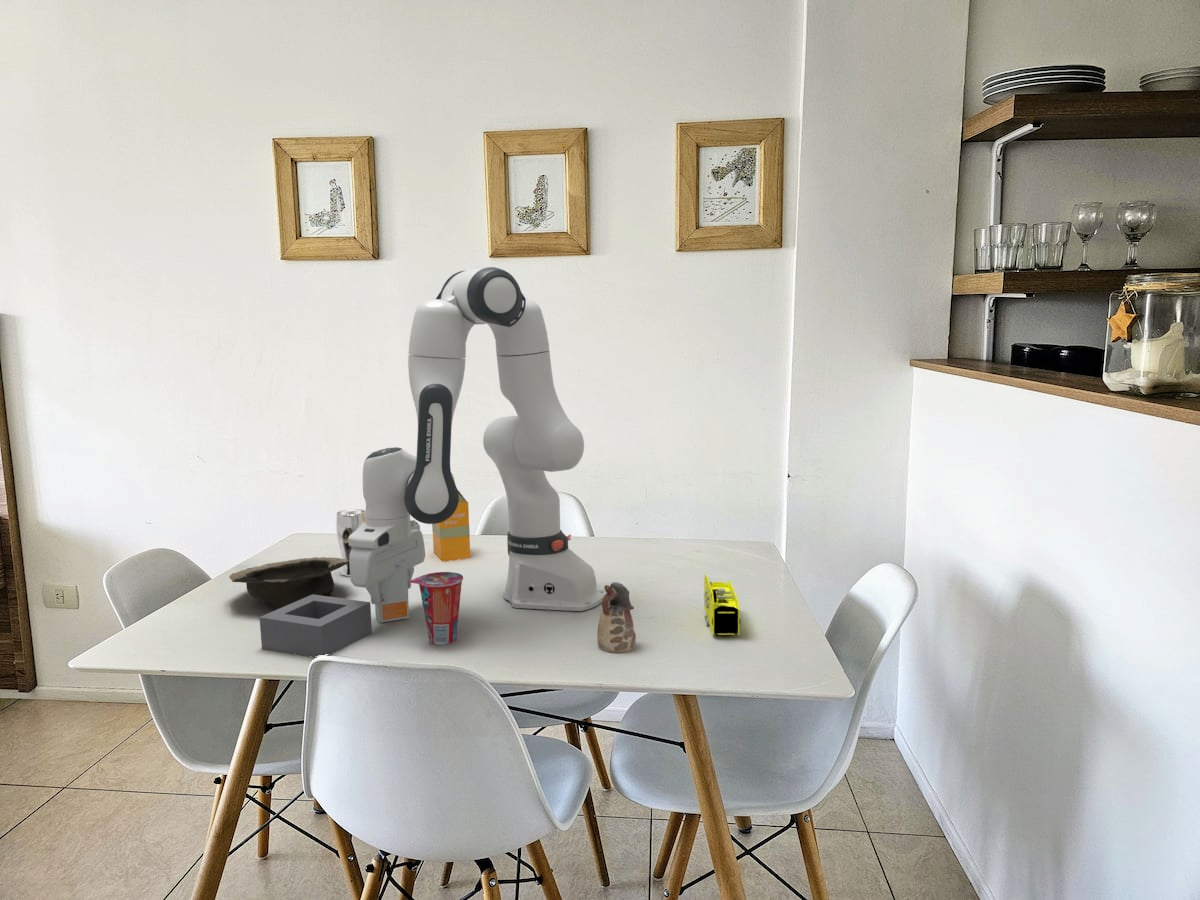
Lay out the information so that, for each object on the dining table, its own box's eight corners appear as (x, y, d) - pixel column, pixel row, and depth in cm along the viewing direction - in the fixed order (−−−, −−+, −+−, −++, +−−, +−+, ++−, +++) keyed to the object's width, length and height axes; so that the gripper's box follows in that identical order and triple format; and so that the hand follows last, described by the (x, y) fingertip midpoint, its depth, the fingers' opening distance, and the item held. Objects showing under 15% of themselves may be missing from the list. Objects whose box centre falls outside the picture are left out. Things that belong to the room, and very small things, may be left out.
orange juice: (462, 549, 219) (459, 475, 217) (470, 558, 211) (468, 481, 209) (432, 553, 216) (429, 478, 213) (440, 562, 208) (437, 483, 205)
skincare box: (380, 623, 165) (376, 565, 163) (375, 617, 169) (372, 560, 167) (410, 618, 168) (407, 561, 166) (405, 612, 172) (402, 556, 170)
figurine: (644, 647, 151) (643, 583, 149) (611, 656, 147) (610, 591, 145) (621, 635, 157) (621, 574, 155) (590, 643, 153) (588, 581, 151)
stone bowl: (307, 621, 167) (300, 576, 165) (206, 619, 174) (199, 576, 173) (374, 582, 190) (369, 543, 189) (283, 582, 198) (277, 545, 196)
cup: (450, 628, 162) (447, 568, 160) (474, 639, 156) (471, 578, 154) (407, 640, 156) (404, 578, 154) (430, 653, 150) (427, 589, 148)
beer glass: (364, 577, 196) (360, 515, 194) (335, 577, 197) (331, 515, 194) (373, 568, 203) (369, 508, 201) (344, 568, 204) (341, 509, 201)
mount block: (371, 632, 161) (370, 602, 160) (322, 658, 148) (320, 626, 147) (314, 623, 166) (312, 594, 165) (261, 648, 153) (259, 617, 152)
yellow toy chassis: (701, 610, 171) (702, 571, 169) (729, 610, 170) (730, 571, 169) (710, 639, 155) (710, 596, 154) (740, 639, 155) (741, 596, 153)
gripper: (405, 516, 176) (409, 579, 178) (341, 540, 158) (346, 610, 160) (431, 519, 174) (433, 582, 176) (369, 542, 155) (373, 613, 157)
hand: (391, 596), depth 168 cm, fingers open, 8 cm apart
